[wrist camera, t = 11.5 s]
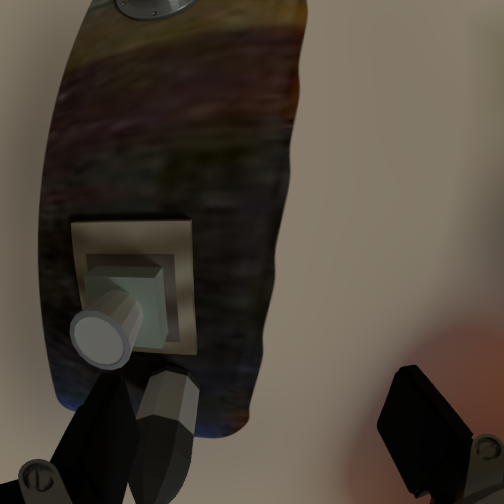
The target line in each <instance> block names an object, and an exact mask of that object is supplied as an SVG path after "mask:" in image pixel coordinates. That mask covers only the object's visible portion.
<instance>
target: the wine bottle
mask: <svg viewBox="0 0 504 504" xmlns="http://www.w3.org/2000/svg"><path fill="white" fill-rule="evenodd" d="M199 388H200V384H199V382H198V381H197V380H196V379H195V378H194V377H193V375H192V374H191V373H190V372H189V371H188V370H186V369H182V368H178V367H174V366H170V365H167V366H165V367H162V368H160V369H158V370H156V371H153V372H152V374H151V376H150V379H149V382H148V384H147V387H146V390H145V393H144V396H143V399H142V401H141V404H140V407H139V410H138V413H137V416H136V421H137V424H138V427H139V431H140V439H139V443H138V447H137V450H136V454H135V457H134V461H133V464H132V468H131V472H130V476H129V479H128V484H129V487H130V490H131V492H132V495H133V498H134V500H135V503H136V504H169V503H170V501H171V500H173V499H174V498H175V497H176V495H177V494H178V492H179V490H180V489H181V487H182V486H183V483H184V481H185V478H186V476H187V473H188V470H189V467H190V463H191V455H192V446H193V438H194V429H195V421H196V412H197V404H198V396H199Z"/></svg>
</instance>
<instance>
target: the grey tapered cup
mask: <svg viewBox="0 0 504 504" xmlns="http://www.w3.org/2000/svg"><path fill="white" fill-rule="evenodd" d="M142 319H143V313H142V308H141V306H140V304H139V303H138V301H137V300H136V299H135V298H134V297H133V296H132V295H131V294H130V293H127V292H125V291H122V290H111V291H109V292H107V293H105V294H104V295H102V296H101V297H99V298H98V299H97V300H95V301H94V302H93V303H91V304H90V305H88V306H87V307H86V308H84V309H83V310H82V311H80V312H79V313H78V314H76V316H75V317H74V318H73V320H72V321H71V324H70V337H71V340H72V344H73V346H74V347H75V349H76V350H77V352H78V353H79V355H80V356H81V357H83V358H84V359H85V360H86V361H87V362H88V363H90V364H92V365H94V366H96V367H98V368H100V369H107V370H114V369H117V368H121V367H123V366H124V365H125V363H126V362H127V361H128V360H129V358H130V355H131V352H132V349H133V346H134V343H135V340H136V337H137V334H138V332H139V329H140V326H141V323H142Z"/></svg>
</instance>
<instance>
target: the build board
mask: <svg viewBox="0 0 504 504" xmlns="http://www.w3.org/2000/svg"><path fill="white" fill-rule="evenodd" d="M71 234H72V244H73V253H74V261H75V268H76V275H77V282H78V288H79V294H80V299H81V305H82V310H83V309H84V308H86V307H87V306H88V302H87V296H86V291H85V284H84V278H83V275H85V274H86V273H87V272H89V271H90V270H91V269H93V268H94V267H95V266H138V267H163V281H164V293H165V305H166V315H167V325H168V334H167V337H166V340H165V343H164V345H163V348H162V349H160V348H146V347H133V349H132V351H138V352H151V353H166V354H186V355H196V353H197V338H196V323H195V305H194V284H193V256H192V219H153V220H102V221H75V222H73V223H71Z"/></svg>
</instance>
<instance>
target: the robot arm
mask: <svg viewBox="0 0 504 504" xmlns="http://www.w3.org/2000/svg"><path fill="white" fill-rule="evenodd" d="M196 1H197V0H116V3H117V6H118V8H119V9H120V11H121V12H122V13H123V14H124V15H126V16H127V17H129V18H131V19H134V20H138V21H155V20H161V19H165V18H168V17H171V16H174V15H176V14H178V13H180V12H182V11H184V10H186V9H187V8H189V7H190V6H191V5H193V4H194V3H195V2H196ZM377 429H378V432H379V433H380V435H381V437H382V439H383V441H384V443H385V445H386V447H387V449H388V451H389V453H390V455H391V457H392V459H393V461H394V463H395V465H396V466H397V468H398V471H399V472H400V475H401V477H402V478H403V480H404V483H405V485H406V487H407V489H408V490H409V492H410V493H413V494H414V496H415V498H419V497H422V496H424V495H427V494H428V493H430V495H431V501H430V504H504V445H503V443H502V441H501V440H500V439H499V438H497V437H496V436H493V435H490V434H482V435H479V436H478V437H476V438H475V439H474V440H473V439H472V438H471V437H472V436H473V433H472V432H471V430H470V429H469V428H468V427H467V425H466V424H465V423H464V422H463V420H462V419H461V418H460V417H459V415H458V414H457V413H456V412H455V410H454V409H453V408H452V407H451V406H450V404H449V403H448V402H447V401H446V399H445V398H444V397H443V396H442V395H441V393H440V392H439V391H438V390H437V389H436V388H435V386H434V385H433V384H432V383H431V382H430V380H429V379H428V378H427V377H426V376H425V375H424V373H423V372H422V371H421V370H420V369H419V367H418V366H416V365H409V366H404V367H401V368H400V369H399V371H398V372H396V373H395V375H394V379H393V381H392V384H391V387H390V390H389V393H388V396H387V398H386V401H385V404H384V406H383V409H382V411H381V414H380V416H379V419H378V421H377ZM139 439H140V431H139V427H138V424H137V421H136V418H135V415H134V412H133V408H132V405H131V401H130V398H129V394H128V391H127V387H126V383H125V380H124V379H120V376H119V375H118V374H111V373H104V372H103V373H101V374H100V376H99V378H98V379H97V381H96V383H95V385H94V386H93V388H92V390H91V392H90V394H89V395H88V397H87V399H86V401H85V403H84V404H83V405H81V406H79V408H78V409H77V411H76V412H75V414H74V416H73V418H72V420H71V422H70V423H69V425H68V427H67V429H66V431H65V433H64V435H63V437H62V439H61V440H60V443H59V445H58V447H57V448H56V450H55V452H54V454H53V456H52V458H51V460H50V462H48V461H46V460H42V459H34V460H31V461H28V462H26V463H25V464H24V465H23V466H22V467H21V469H20V470H19V475H18V479H17V480H14V481H10V482H7V483H3V484H0V504H122V502H123V499H124V495H125V491H126V487H127V483H128V479H129V476H130V472H131V468H132V464H133V461H134V457H135V454H136V450H137V447H138V443H139Z"/></svg>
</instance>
